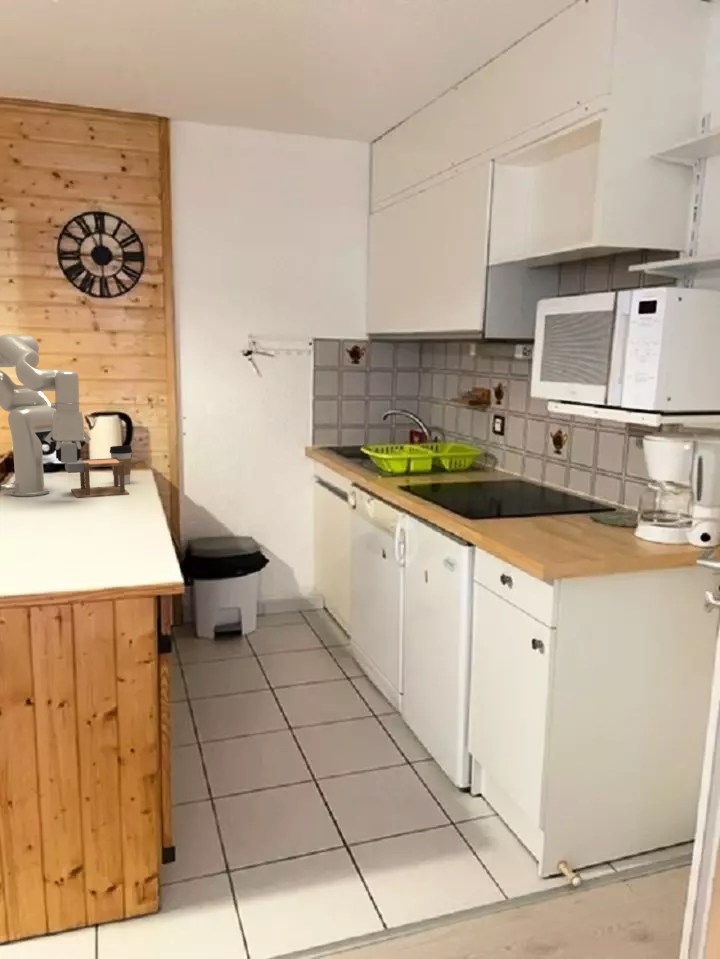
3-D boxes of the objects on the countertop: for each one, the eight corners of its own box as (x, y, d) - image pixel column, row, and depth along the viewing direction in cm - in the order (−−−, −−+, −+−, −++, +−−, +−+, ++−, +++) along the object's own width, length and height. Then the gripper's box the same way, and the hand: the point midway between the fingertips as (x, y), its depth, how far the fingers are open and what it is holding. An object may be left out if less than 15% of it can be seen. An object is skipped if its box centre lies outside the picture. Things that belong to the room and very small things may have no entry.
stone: (61, 462, 254) (61, 445, 253) (59, 460, 258) (59, 443, 257) (77, 462, 256) (76, 445, 255) (75, 459, 261) (74, 442, 259)
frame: (76, 498, 264) (75, 464, 262) (71, 490, 279) (69, 458, 277) (129, 494, 272) (128, 461, 270) (120, 487, 287) (119, 456, 285)
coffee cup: (129, 485, 291) (127, 447, 289) (107, 484, 291) (106, 446, 289) (136, 481, 299) (134, 444, 297) (115, 481, 299) (113, 444, 297)
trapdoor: (68, 473, 265) (68, 464, 264) (65, 469, 273) (64, 460, 273) (120, 470, 273) (120, 461, 272) (116, 466, 281) (115, 458, 281)
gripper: (41, 408, 247) (42, 462, 250) (95, 408, 254) (96, 461, 258) (39, 406, 253) (40, 459, 257) (92, 406, 261) (92, 457, 264)
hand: (68, 459), depth 257 cm, fingers closed on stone, 5 cm apart
